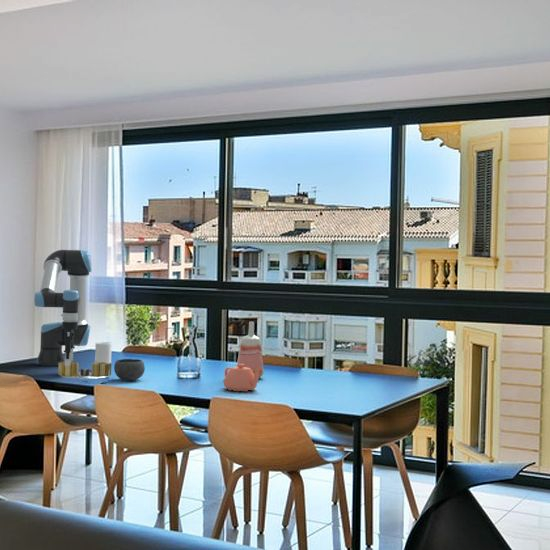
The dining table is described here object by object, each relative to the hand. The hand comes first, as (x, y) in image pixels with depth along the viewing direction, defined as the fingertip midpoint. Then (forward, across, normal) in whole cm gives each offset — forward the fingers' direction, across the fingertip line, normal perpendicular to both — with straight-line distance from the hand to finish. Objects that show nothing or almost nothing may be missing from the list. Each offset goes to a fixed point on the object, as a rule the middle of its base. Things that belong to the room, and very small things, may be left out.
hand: (68, 363), depth 392 cm
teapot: (+7, +35, +83) cm, 90 cm away
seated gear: (+5, 0, +16) cm, 17 cm away
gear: (+6, 0, 0) cm, 6 cm away
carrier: (+7, +1, +8) cm, 11 cm away
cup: (+8, -16, +16) cm, 24 cm away
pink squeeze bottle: (+7, -4, +92) cm, 92 cm away
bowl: (+7, +7, +30) cm, 32 cm away
